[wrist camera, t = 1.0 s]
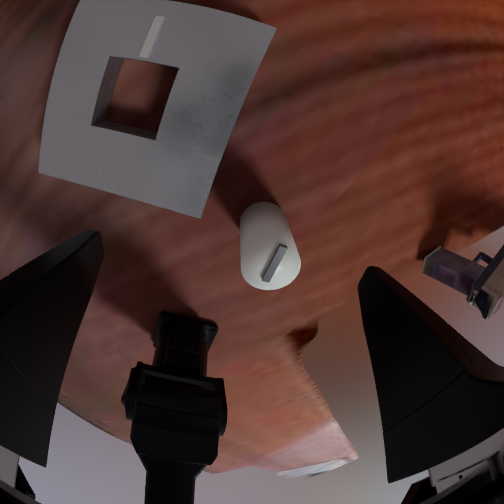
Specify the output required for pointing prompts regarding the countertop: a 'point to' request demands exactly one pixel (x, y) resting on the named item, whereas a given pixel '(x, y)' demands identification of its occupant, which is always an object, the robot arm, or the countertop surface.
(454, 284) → the toy gun
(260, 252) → the knob
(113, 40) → the plate
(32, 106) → the countertop surface
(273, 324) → the countertop surface
